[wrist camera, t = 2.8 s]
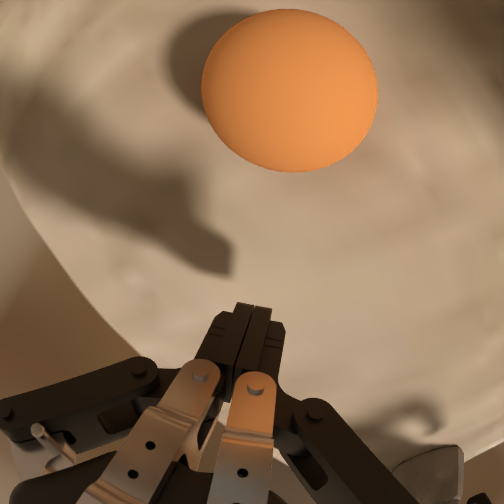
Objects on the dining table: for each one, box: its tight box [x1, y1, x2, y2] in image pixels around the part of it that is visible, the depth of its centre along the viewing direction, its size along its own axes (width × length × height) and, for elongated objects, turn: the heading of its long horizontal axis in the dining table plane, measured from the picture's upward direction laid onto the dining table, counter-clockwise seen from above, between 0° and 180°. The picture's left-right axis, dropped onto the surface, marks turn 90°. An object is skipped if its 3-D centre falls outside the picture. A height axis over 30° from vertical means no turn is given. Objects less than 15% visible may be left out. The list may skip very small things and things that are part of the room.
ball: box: [201, 9, 378, 172], centre depth 8 cm, size 6×6×6 cm
